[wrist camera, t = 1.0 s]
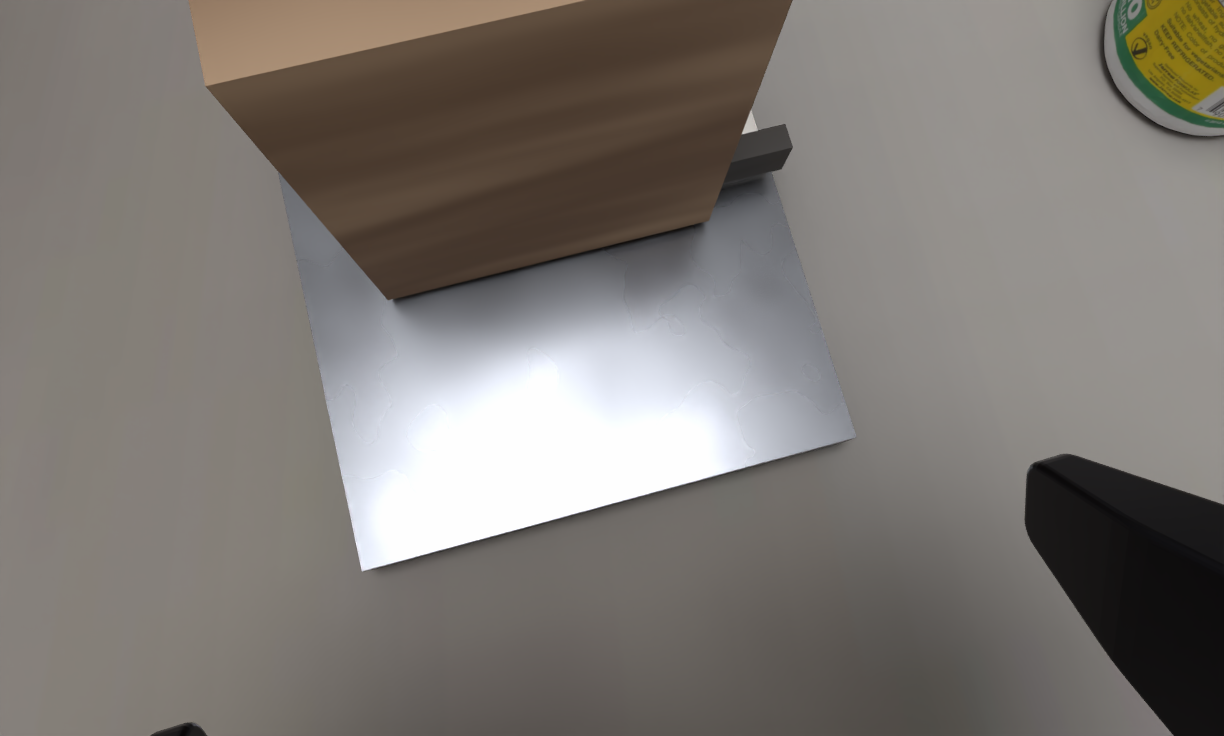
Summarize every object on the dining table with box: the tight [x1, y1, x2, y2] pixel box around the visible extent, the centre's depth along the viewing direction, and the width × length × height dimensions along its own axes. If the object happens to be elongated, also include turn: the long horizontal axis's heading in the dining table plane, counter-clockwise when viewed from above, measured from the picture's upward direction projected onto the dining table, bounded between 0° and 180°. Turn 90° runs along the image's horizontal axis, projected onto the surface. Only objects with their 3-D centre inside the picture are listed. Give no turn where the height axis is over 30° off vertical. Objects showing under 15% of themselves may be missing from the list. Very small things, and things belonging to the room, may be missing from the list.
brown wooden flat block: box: [189, 0, 793, 300], centre depth 16 cm, size 2×10×10 cm, turn 105°
